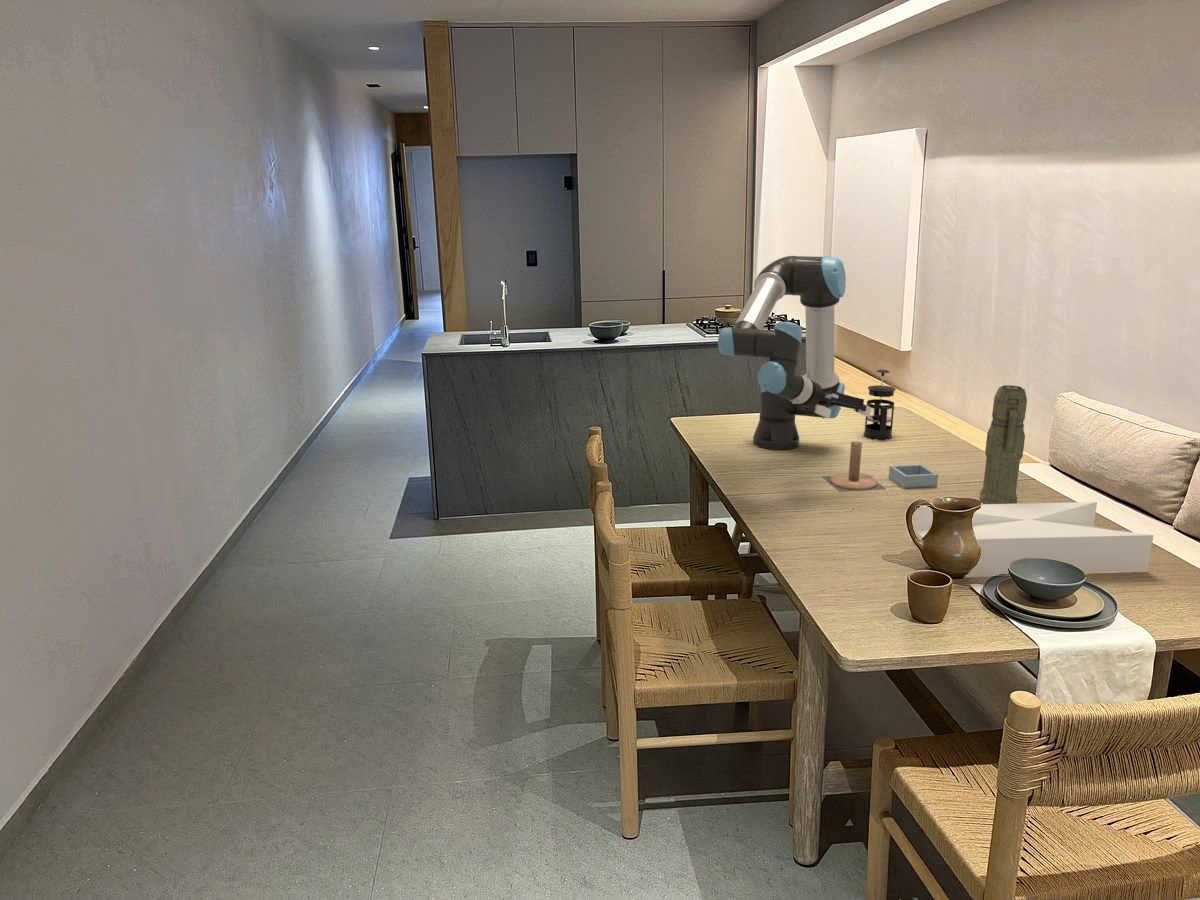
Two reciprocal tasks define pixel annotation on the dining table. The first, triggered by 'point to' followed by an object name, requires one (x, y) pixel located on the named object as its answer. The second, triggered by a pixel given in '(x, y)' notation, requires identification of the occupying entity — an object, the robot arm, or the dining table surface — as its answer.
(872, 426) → the french press
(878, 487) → the mat
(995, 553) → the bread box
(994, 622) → the dining table surface
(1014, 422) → the green carved statue
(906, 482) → the dish
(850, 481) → the lid
